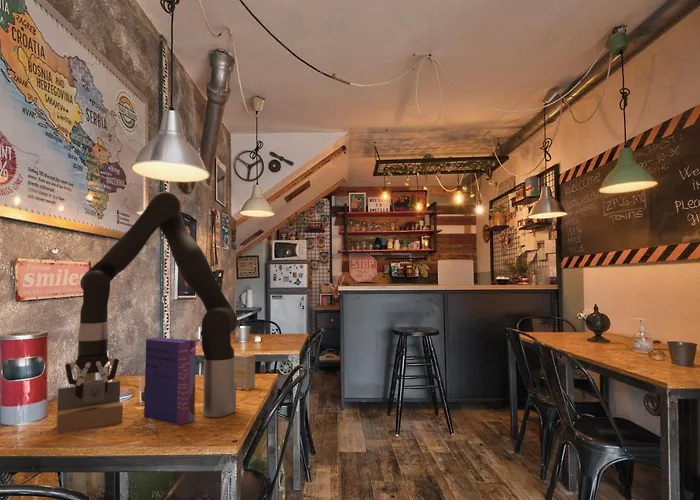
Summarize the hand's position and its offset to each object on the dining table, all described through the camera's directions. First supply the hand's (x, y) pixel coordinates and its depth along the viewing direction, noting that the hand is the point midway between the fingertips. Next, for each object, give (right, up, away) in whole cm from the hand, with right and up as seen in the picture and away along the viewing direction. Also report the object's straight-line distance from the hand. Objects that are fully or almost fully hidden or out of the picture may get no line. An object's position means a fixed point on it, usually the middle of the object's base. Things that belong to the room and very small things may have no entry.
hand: (91, 396), depth 126 cm
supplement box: (+34, -12, +42) cm, 56 cm away
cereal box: (+21, -9, +5) cm, 23 cm away
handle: (-9, -10, +13) cm, 19 cm away
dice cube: (+1, -1, -1) cm, 2 cm away
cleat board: (-1, -8, 0) cm, 8 cm away
